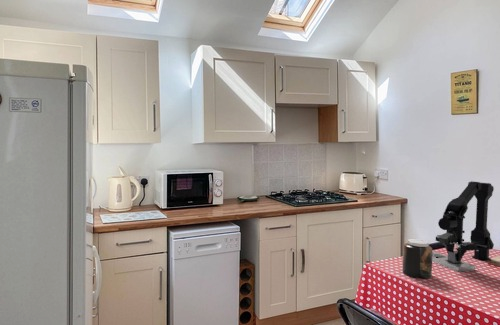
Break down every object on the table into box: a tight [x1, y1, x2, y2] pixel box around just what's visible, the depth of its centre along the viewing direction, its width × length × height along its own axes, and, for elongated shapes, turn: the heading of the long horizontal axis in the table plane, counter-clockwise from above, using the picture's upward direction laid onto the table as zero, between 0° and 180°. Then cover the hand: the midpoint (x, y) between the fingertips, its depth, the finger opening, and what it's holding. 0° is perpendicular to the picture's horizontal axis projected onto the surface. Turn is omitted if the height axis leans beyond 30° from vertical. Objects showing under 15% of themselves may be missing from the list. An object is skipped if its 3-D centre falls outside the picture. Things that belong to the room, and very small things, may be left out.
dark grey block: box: [447, 250, 462, 264], centre depth 173 cm, size 4×4×6 cm
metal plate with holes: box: [432, 250, 476, 273], centre depth 178 cm, size 10×24×2 cm, turn 18°
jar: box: [402, 238, 433, 280], centre depth 160 cm, size 12×12×15 cm
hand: (454, 259), depth 173 cm, fingers open, 4 cm apart
